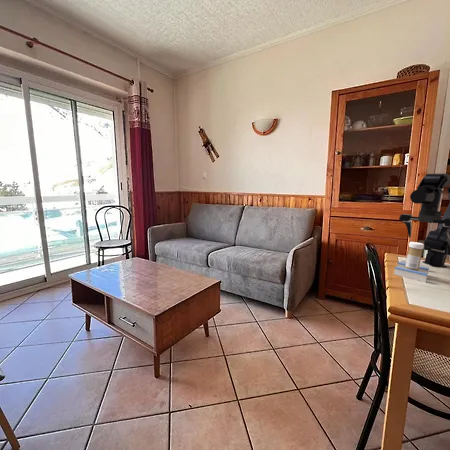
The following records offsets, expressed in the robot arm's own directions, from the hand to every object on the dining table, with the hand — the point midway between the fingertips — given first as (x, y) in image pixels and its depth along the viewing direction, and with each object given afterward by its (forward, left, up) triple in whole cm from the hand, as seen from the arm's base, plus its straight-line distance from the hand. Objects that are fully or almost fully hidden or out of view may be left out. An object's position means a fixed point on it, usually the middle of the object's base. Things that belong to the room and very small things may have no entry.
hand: (422, 239), depth 103 cm
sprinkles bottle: (+10, +9, -13) cm, 19 cm away
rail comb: (+7, +6, -13) cm, 16 cm away
